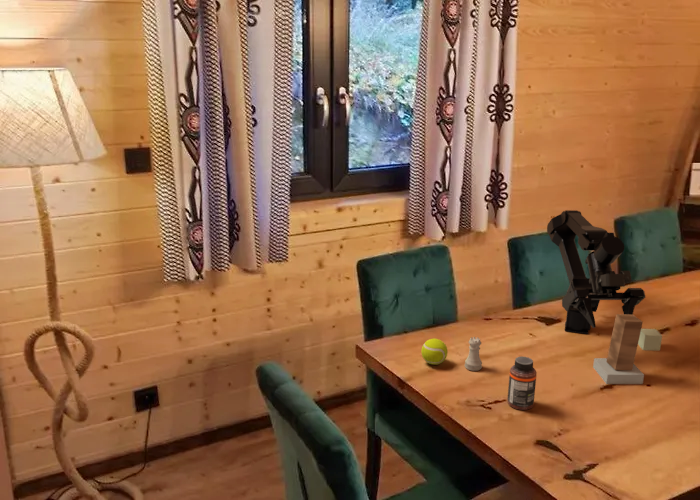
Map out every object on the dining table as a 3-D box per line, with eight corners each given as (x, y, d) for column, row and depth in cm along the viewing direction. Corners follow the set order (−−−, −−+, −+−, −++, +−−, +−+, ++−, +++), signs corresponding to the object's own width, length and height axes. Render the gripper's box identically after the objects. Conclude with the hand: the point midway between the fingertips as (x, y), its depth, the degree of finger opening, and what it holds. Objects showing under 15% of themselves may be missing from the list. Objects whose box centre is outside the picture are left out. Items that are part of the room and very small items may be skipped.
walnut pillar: (606, 361, 173) (616, 314, 169) (622, 362, 173) (633, 314, 169) (615, 369, 168) (625, 321, 165) (632, 370, 169) (642, 321, 165)
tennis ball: (424, 370, 173) (425, 345, 171) (418, 358, 179) (419, 334, 177) (449, 368, 174) (451, 344, 172) (442, 357, 180) (444, 333, 178)
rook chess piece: (481, 372, 172) (484, 343, 170) (463, 370, 173) (465, 341, 171) (482, 364, 176) (484, 336, 174) (464, 362, 177) (466, 334, 175)
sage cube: (643, 350, 186) (645, 335, 185) (637, 343, 190) (639, 328, 189) (659, 350, 186) (662, 335, 184) (653, 343, 190) (656, 329, 189)
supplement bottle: (512, 395, 161) (516, 351, 158) (537, 402, 158) (541, 358, 155) (502, 405, 156) (506, 361, 153) (527, 413, 153) (532, 368, 150)
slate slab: (592, 368, 176) (594, 358, 175) (627, 368, 176) (628, 358, 175) (606, 385, 167) (607, 374, 166) (642, 385, 168) (644, 374, 167)
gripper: (576, 258, 174) (587, 316, 167) (648, 259, 175) (661, 315, 168) (562, 277, 184) (572, 331, 177) (630, 277, 185) (642, 331, 178)
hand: (611, 327), depth 175 cm, fingers open, 9 cm apart
